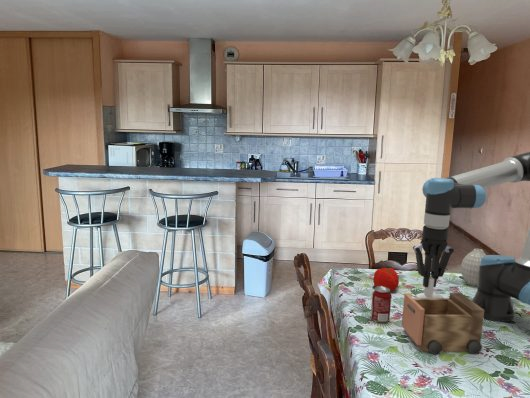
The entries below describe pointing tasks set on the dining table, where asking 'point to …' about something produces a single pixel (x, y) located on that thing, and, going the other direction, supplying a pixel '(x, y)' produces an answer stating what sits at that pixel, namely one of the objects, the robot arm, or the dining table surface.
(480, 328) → the truck
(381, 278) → the tomato
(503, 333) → the dining table surface
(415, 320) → the cabinet door
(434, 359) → the dining table surface
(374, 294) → the soda can
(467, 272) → the vase
